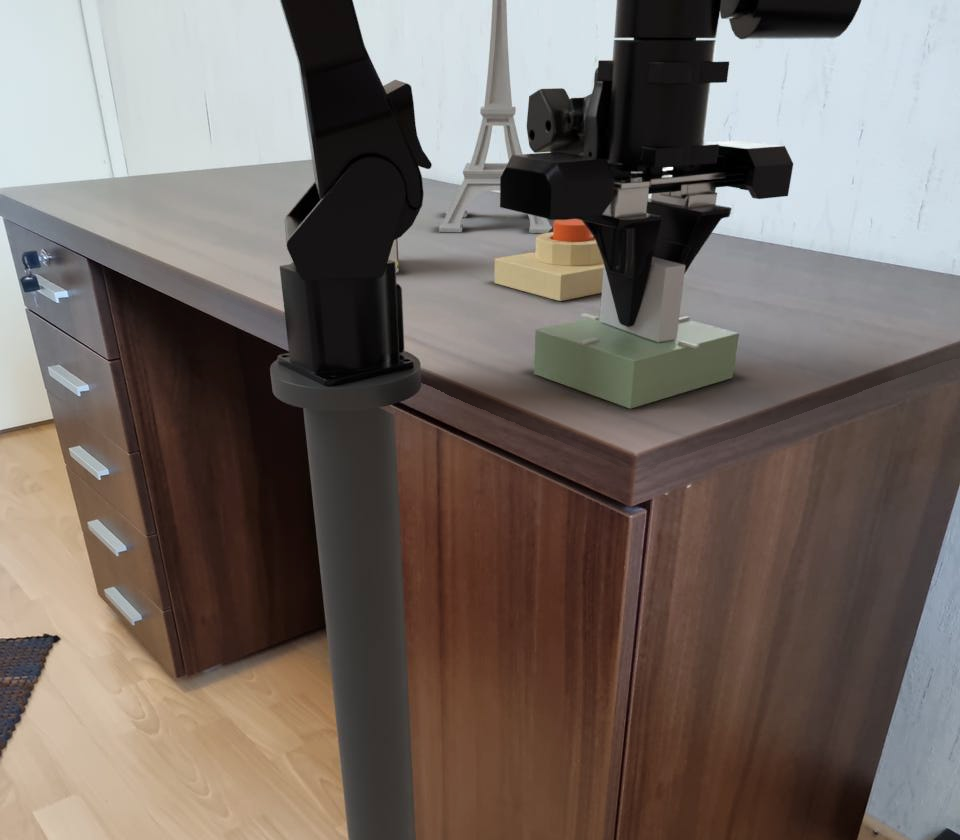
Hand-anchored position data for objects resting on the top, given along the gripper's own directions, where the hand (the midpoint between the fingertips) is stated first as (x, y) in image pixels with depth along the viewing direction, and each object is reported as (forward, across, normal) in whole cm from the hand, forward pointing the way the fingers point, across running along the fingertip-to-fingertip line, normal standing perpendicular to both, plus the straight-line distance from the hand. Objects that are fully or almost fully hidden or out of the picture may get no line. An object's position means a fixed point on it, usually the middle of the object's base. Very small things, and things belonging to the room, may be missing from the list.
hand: (638, 323), depth 60 cm
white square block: (0, 0, 0) cm, 0 cm away
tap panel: (+4, 0, 0) cm, 4 cm away
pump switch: (+4, -13, -25) cm, 28 cm away
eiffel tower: (+4, -26, -56) cm, 62 cm away
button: (0, -13, -25) cm, 28 cm away
